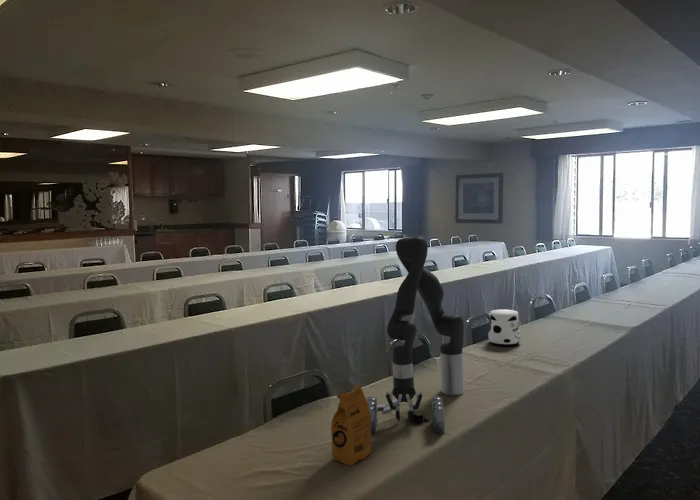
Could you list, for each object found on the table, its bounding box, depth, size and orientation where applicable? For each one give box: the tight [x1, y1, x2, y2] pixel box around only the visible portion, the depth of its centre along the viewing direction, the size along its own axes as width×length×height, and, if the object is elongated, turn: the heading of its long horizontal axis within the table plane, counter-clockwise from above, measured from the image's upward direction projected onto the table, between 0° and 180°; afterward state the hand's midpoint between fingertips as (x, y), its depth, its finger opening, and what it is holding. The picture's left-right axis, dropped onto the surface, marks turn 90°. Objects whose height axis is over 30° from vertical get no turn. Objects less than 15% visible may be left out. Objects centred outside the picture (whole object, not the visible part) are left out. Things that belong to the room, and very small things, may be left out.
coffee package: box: [330, 384, 372, 466], centre depth 167 cm, size 10×12×22 cm
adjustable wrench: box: [377, 398, 397, 414], centre depth 212 cm, size 25×6×2 cm, turn 137°
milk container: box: [487, 308, 521, 347], centre depth 292 cm, size 17×17×18 cm
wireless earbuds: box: [407, 409, 430, 425], centre depth 194 cm, size 5×7×3 cm, turn 34°
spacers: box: [366, 396, 446, 436], centre depth 188 cm, size 13×28×9 cm, turn 84°
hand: (404, 419), depth 192 cm, fingers open, 4 cm apart
